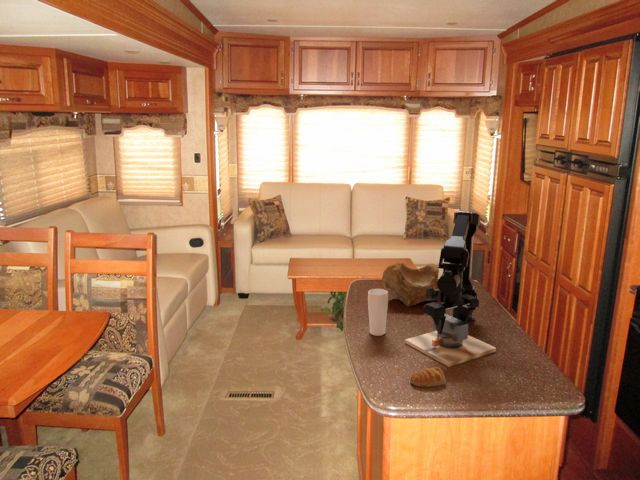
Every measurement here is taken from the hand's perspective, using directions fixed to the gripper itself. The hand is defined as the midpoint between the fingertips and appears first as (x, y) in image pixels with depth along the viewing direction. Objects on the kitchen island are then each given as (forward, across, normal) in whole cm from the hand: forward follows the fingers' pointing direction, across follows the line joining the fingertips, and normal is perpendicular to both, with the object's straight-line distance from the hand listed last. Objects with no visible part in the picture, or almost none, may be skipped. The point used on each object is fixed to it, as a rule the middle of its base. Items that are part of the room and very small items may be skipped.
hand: (450, 330), depth 168 cm
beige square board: (+6, 0, 0) cm, 6 cm away
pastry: (+6, +21, +14) cm, 26 cm away
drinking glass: (+6, +13, -21) cm, 25 cm away
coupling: (+4, +2, 0) cm, 4 cm away
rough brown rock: (+6, -18, -39) cm, 43 cm away
